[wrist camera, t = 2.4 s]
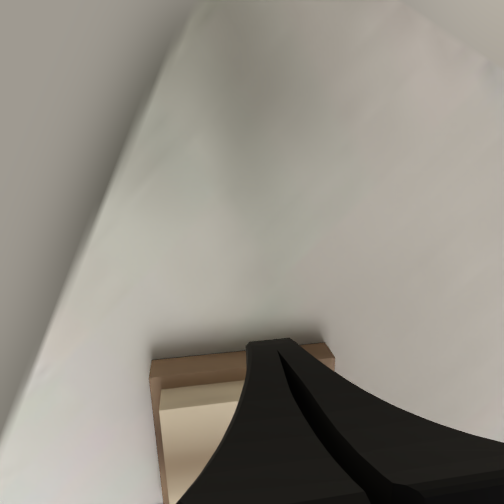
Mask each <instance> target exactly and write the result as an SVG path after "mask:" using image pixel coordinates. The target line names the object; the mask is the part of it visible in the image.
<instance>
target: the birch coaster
mask: <svg viewBox="0 0 504 504" xmlns="http://www.w3.org/2000/svg"><path fill="white" fill-rule="evenodd" d="M244 381H245V380H241V381H232V382H223V383H214V384H206V385H197V386H188V387H179V388H170V389H161V397H160V406H159V415H160V424H161V433H162V442H163V451H164V460H165V469H166V478H167V487H168V497H169V504H176V503H177V502H178V500H179V499H180V498H181V497H182V496H183V494H184V493H185V492H186V491H187V489H188V488H189V487H190V486H191V485H192V483H193V482H194V481H195V480H196V478H197V477H198V476H199V474H200V473H201V472H202V470H203V469H204V467H205V466H206V464H207V463H208V461H209V460H210V458H211V457H212V455H213V453H214V452H215V450H216V449H217V447H218V445H219V444H220V442H221V440H222V438H223V436H224V434H225V432H226V430H227V428H228V426H229V424H230V422H231V420H232V417H233V415H234V412H235V410H236V407H237V405H238V402H239V399H240V395H241V392H242V388H243V385H244Z"/></svg>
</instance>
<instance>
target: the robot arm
mask: <svg viewBox="0 0 504 504" xmlns="http://www.w3.org/2000/svg"><path fill="white" fill-rule="evenodd" d="M246 369H247V370H246V376H245V381H244V385H243V388H242V392H241V395H240V399H239V402H238V405H237V407H236V410H235V412H234V415H233V417H232V420H231V422H230V424H229V426H228V428H227V430H226V432H225V434H224V436H223V438H222V440H221V442H220V444H219V445H218V447H217V449H216V450H215V452H214V453H213V455H212V457H211V458H210V460H209V461H208V463H207V464H206V466H205V467H204V469H203V470H202V472H201V473H200V474H199V476H198V477H197V478H196V480H195V481H194V482H193V483H192V485H191V486H190V487H189V488H188V489H187V491H186V492H185V493H184V494H183V496H182V497H181V498H180V499H179V500H178V502H177V503H176V504H504V443H502V442H498V441H494V440H490V439H487V438H483V437H479V436H475V435H471V434H468V433H465V432H462V431H459V430H456V429H452V428H449V427H446V426H443V425H440V424H438V423H435V422H432V421H429V420H427V419H424V418H422V417H419V416H417V415H414V414H412V413H410V412H407V411H405V410H402V409H400V408H398V407H396V406H394V405H391V404H389V403H387V402H385V401H383V400H381V399H380V398H378V397H376V396H374V395H372V394H370V393H368V392H366V391H364V390H363V389H361V388H359V387H358V386H356V385H354V384H353V383H351V382H350V381H348V380H346V379H345V378H343V377H342V376H340V375H339V374H337V373H336V372H334V371H333V370H331V369H330V368H329V367H327V366H326V365H324V364H323V363H322V362H320V361H319V360H318V359H316V358H315V357H314V356H312V355H311V354H310V353H309V352H307V351H306V350H305V349H303V348H302V347H301V346H300V345H298V344H297V343H296V342H295V341H293V340H292V339H290V338H284V339H274V340H264V341H254V342H249V343H248V344H247V345H246Z"/></svg>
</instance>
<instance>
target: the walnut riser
mask: <svg viewBox="0 0 504 504" xmlns="http://www.w3.org/2000/svg"><path fill="white" fill-rule="evenodd" d="M300 346H301V347H302V348H303V349H305V350H306V351H307V352H309V353H310V354H311V355H312V356H314V357H315V358H316V359H318V360H319V361H320V362H322V363H323V364H324V365H326V366H327V367H329V368H330V369H331V370H333V371H334V368H335V357H334V355H333V354H332V352H331V351H330V349H329V348H328V346H327V345H326V343H315V344H306V345H300ZM246 370H247V369H246V351H238V352H228V353H218V354H208V355H199V356H189V357H179V358H169V359H160V360H152V362H151V368H150V374H149V383H150V391H151V400H152V409H153V417H154V426H155V435H156V443H157V452H158V461H159V469H160V478H161V487H162V495H163V504H169V497H168V487H167V478H166V469H165V460H164V451H163V442H162V433H161V424H160V415H159V406H160V397H161V389H170V388H179V387H188V386H197V385H206V384H214V383H223V382H232V381H241V380H245V376H246Z"/></svg>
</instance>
